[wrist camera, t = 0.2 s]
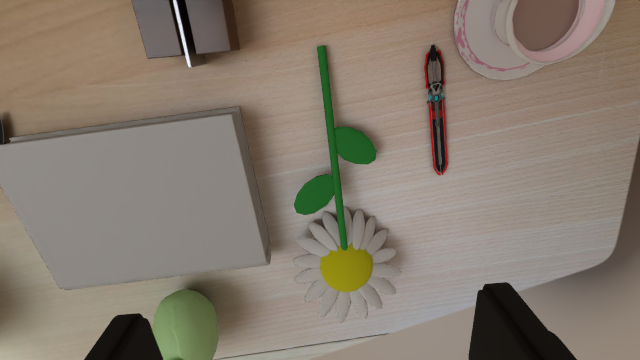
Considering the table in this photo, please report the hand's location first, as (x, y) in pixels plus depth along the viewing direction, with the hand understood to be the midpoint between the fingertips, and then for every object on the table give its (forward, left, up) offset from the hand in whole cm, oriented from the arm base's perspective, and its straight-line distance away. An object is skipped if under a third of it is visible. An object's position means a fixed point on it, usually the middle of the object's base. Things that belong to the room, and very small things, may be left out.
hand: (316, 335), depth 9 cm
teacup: (-8, +20, -28) cm, 35 cm away
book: (+8, -19, -28) cm, 34 cm away
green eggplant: (+25, -19, -28) cm, 41 cm away
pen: (+1, +13, -27) cm, 30 cm away
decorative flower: (+8, +2, -28) cm, 29 cm away
